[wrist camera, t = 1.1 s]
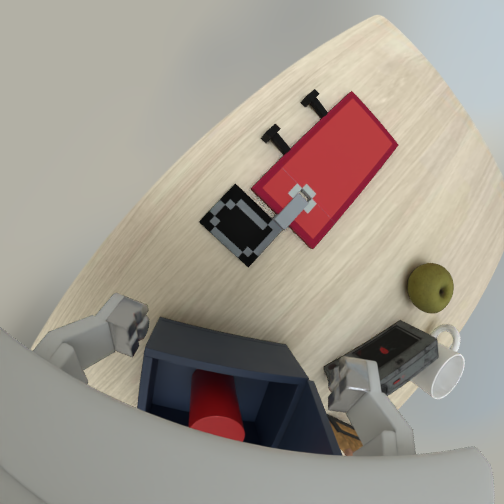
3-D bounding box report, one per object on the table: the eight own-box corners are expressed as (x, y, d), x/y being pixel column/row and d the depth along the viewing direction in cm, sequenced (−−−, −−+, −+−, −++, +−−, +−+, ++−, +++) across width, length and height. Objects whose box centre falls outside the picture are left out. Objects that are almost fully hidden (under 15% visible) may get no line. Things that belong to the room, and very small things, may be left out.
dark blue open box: (145, 402, 36) (134, 444, 26) (159, 316, 36) (144, 347, 26) (257, 422, 39) (270, 464, 30) (286, 344, 39) (309, 378, 29)
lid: (272, 581, 10) (321, 578, 10) (354, 515, 9) (415, 505, 9) (267, 466, 29) (301, 470, 29) (307, 379, 28) (346, 385, 28)
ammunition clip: (319, 420, 41) (346, 465, 29) (326, 413, 41) (355, 457, 29) (354, 436, 43) (382, 473, 31) (360, 429, 43) (390, 466, 31)
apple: (408, 314, 42) (435, 327, 35) (393, 278, 40) (421, 287, 33) (435, 287, 42) (462, 295, 35) (421, 251, 41) (451, 255, 34)
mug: (421, 310, 42) (461, 326, 32) (443, 323, 44) (480, 339, 34) (389, 369, 42) (423, 396, 32) (414, 378, 44) (446, 401, 34)
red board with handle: (188, 211, 35) (272, 289, 38) (187, 210, 32) (277, 294, 35) (330, 77, 36) (393, 146, 39) (338, 69, 34) (403, 143, 36)
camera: (323, 386, 40) (350, 421, 31) (317, 368, 40) (344, 403, 30) (403, 337, 42) (440, 358, 32) (400, 319, 42) (438, 338, 32)
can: (182, 376, 36) (176, 430, 24) (217, 355, 36) (223, 407, 24) (208, 403, 37) (211, 459, 25) (242, 384, 37) (255, 438, 25)
